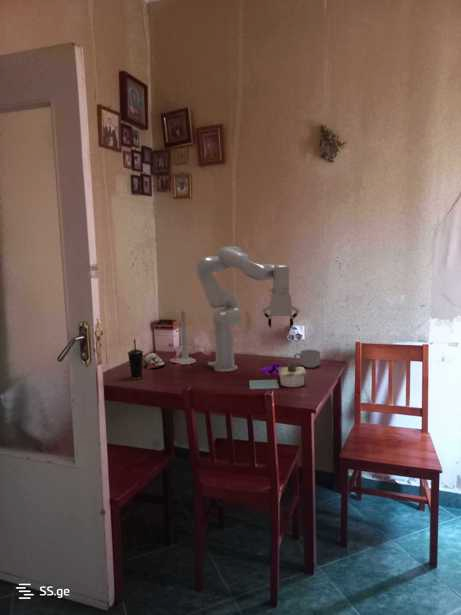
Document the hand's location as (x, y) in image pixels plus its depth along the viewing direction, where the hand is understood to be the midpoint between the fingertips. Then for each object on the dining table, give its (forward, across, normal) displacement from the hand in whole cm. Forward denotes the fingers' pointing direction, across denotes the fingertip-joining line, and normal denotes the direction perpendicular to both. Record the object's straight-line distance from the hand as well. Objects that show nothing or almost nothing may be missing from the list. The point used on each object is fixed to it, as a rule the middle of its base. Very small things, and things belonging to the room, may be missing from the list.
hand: (280, 327), depth 219 cm
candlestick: (+28, -51, +35) cm, 68 cm away
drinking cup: (+28, -71, +5) cm, 76 cm away
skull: (+28, -67, +28) cm, 78 cm away
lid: (+19, +5, -12) cm, 23 cm away
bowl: (+25, +5, -12) cm, 28 cm away
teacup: (+25, +16, +21) cm, 36 cm away
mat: (+25, -8, -12) cm, 29 cm away
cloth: (+26, -2, +8) cm, 28 cm away
